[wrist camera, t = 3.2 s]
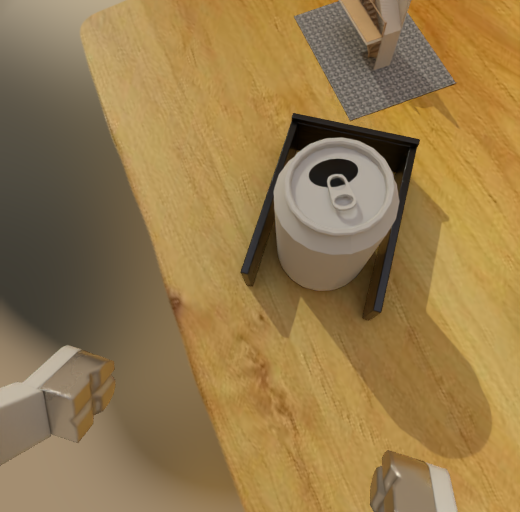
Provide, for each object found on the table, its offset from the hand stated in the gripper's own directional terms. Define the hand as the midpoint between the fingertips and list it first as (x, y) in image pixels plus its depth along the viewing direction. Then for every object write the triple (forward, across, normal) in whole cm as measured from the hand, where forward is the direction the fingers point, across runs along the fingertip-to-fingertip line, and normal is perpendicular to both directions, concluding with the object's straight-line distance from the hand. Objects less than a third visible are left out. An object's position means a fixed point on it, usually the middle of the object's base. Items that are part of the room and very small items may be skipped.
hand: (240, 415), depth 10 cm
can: (+22, -1, +5) cm, 23 cm away
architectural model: (+39, -1, -12) cm, 40 cm away
